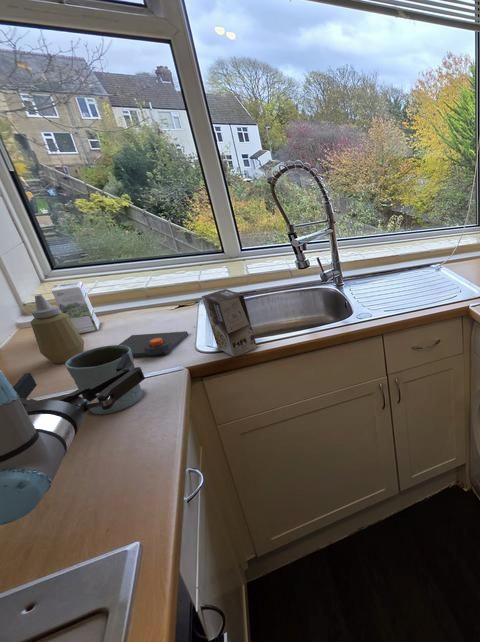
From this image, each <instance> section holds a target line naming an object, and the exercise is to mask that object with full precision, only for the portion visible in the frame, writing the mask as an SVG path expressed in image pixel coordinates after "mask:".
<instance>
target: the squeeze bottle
mask: <svg viewBox="0 0 480 642" xmlns="http://www.w3.org/2000/svg"><path fill="white" fill-rule="evenodd" d="M34 301H35V308H34V309H32V310H31V311H30V313H31V314H32V317H33V318H32V319H31V320H30V325H31V328H32V329H31V330H32V332H33V334H34V338H35V341H36V344H37V347H38V350H39V353H40V354H41V355H42V356H44V358H46V359H47V360H48V361H49V362H51V363H52V364H65V363H66V362H67V361H68V360H69V359H70V358H72V357H73V356H75V355H77V354H79V353H82V352H85V351H84V349H85V341H84V339H83V337H82V335H81V334H79V333H78V331H77V329H76V328H75V326H74V325H73V323H72V322H71V320H70V318H69V317H68V315H67V314H65V313H62V312H61V310H60V308H59V306H58V305H56V304H55V305H53V304H52V305H51V304H50V302H48V300H47V299H46V297H44V295H42V294H35V295H34Z"/></svg>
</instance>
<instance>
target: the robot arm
mask: <svg viewBox="0 0 480 642" xmlns="http://www.w3.org/2000/svg"><path fill="white" fill-rule="evenodd" d="M133 363H134V362H133ZM133 363H132V361H131V359H130V356H129V354H128V353H127V354H123V356H122V358H121V360H120V362H119V364H118V366H117V368H116V371H117V372H116V373H114V374H112V375H110V376H108V377H106V378H105V379H103V380H101V381H99V382H97V383H95V384H93V385H91V386H89V387H87V388H80V389H76V390H74V391H71V392H70V393H68V394H63V395H61V396H58V397H51V398H47V399H44V400H37V399H34V398H30V399H29V398H28V397H29V396H30V394H31V393H33V391H34V389H35V388H36V387H37V385H38V384H37V382H36V381H35V378H34V377H33V375H32V373H31V372H26V373H23V375H22V376H21V377H20V378H19V379H18V380H17V382H15V384H14V385H13V386H12V385H11V383H10V381H9V380H8V378H7V377H6V375H5V374H4V372H3V371H2V370H1V369H0V526H4V525H7V524H11V523H13V522H15V521H18V520H20V519H22V518H24V517H25V516H28V515H29V514H30V513H31V512H32V511H34V510H35V509H36V508H37V507H38V505H39V504H40V503H41V501H42V500H43V498H44V496H45V495H46V494H47V492H48V491H50V489H51V487H52V484H53V481H54V478H55V477H56V475H57V472H58V471H59V469H60V467H61V465H62V463H63V461H64V459H65V456H66V455H67V452H68V451H69V449H70V446H71V444H72V442H73V440H74V438H75V437H76V435H77V434H78V431H79V430H80V428H81V426H82V424H83V420H84V415H85V414H86V413H88V412H89V411H91V410H90V409H91V408H95V407H100V406H101V407H102V409H103V410H107V409H109V408H111V407H112V406H113V404H114V403H115V401H117V400H118V399H119V398H121V397H122V396H123V395H124V394H126V393H127V392H128V391H130V390H131V389H132V388H134V387H135V386H136V385H138V384H141V383H142V382H143V381H144V380H145V379H146V377H145V375H144V372H143V369H142V367H141V366H136V367H135V363H134V364H133Z"/></svg>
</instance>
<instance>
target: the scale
mask: <svg viewBox="0 0 480 642" xmlns="http://www.w3.org/2000/svg"><path fill="white" fill-rule="evenodd" d="M188 336H189V333H188V331H187V330H184V331H171V332H158V333H156V332H155V333H144V334H143V333H142V334H131V335H130V336H129V337H127V338H126V339H124V340H123V341H122V342H120V343H119V344H118V345H124V346H128V347H129V348H130V349H131V352H132V356H133V359H134V358H136V359H137V358H147V357H159V356H167V354H169V353H170V352H171V351H172V350H173V349H175V348H176V347H177V346H178V345H179V344H180V343H181V342H182V341H184V339H186V338H187V337H188ZM155 338H162V340H163V343H164V344H162V345H160V346H156V347H151V344H150V340H152V339H155Z"/></svg>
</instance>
